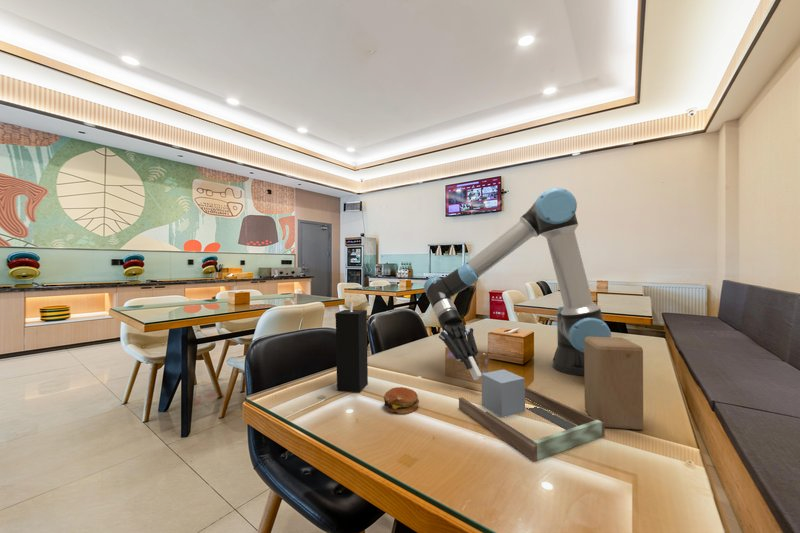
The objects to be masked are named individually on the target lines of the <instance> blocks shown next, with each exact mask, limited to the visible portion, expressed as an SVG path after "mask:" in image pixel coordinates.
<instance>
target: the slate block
mask: <svg viewBox="0 0 800 533" xmlns="http://www.w3.org/2000/svg"><path fill="white" fill-rule="evenodd" d="M481 375H482V376H481V406H483V407H484V408H485V409H487V410H489V411H490V412H492V413H494V414H495V415H497V416H498V417H499V418H501V417H503V418H506V417H510V416H513V414H514V415H516V413H517V414H521V413H524V411H525V412H526V408H525V402H526V399H525V387H526V384H525V380H526V379H525V377H523V376H520V375H518V374H516V373H513V372H511V371H508V370H506V369H498V370H493V371H488V372H483V373H481ZM520 412H521V413H520ZM509 415H510V416H509ZM505 416H506V417H505Z"/></svg>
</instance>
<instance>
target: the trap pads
mask: <svg viewBox="0 0 800 533" xmlns="http://www.w3.org/2000/svg"><path fill="white" fill-rule="evenodd" d="M526 410H528V408H527V409H526ZM530 410H531V411H530ZM528 411H530V412H532V413H534V414H535V415H537V416H539V415H540V417H541V416H542V417H541V418H543V417H544V418H543V419H545V418H546V419H545V420H547V419H548V420H547V421H549V420H550V421H549V422H550V423H553V424H554V423H555V425H556V424H557V426H559V427H560V428H563V430H568V429H571V428H574V427H577V426H578V425H577V424H575V423H573V422H571V421H569V420H567V419H565V418H563V417H561V416H559V415H558V416H557V414H554V415H552V414H553V412H551V411H549V410H547V409H545V408H543V407H540V408H537V407H534V408H529V410H528ZM485 412H486V413H487V414H489V415H490V416H492V417H493V418H495V419H496V420H498V421H500V422H501V423H503V424H504V425H506V426H507V427H509V428H510V429H512V430H514V431H515V432H517V433H518V434H520V435H521V436H523V437H524V438H526V439H528V440H529V441H531V442H532V443H533V441H534V440H532V439H531V438H530V437H528V436H526V435H525V434H523V433H521V432H520V431H518V430H517V429H515V428H514V427H513V426H510V425H509V424H507V423H505V422H504V421H503V420H502V419H499V418H498V417H497V416H494V415H493V414H492V413H490V412H488V411H485Z"/></svg>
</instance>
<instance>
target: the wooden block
mask: <svg viewBox="0 0 800 533" xmlns="http://www.w3.org/2000/svg"><path fill="white" fill-rule="evenodd" d="M583 376H584V409H585V411H586V412H587V414H589V416H591V417H593V418H595V419H597V420H599V421H602V422H604V423H605V428H612V429H613V428H615V429H626V430H628V429H629V430H631V429H632V430H639V431H640V430H643V429H644V350H643V347H642V346H641V345H639V344H636V343H635V342H632V341H630V340H629V339H626V338H623V337H616V336H615V337H612V336H611V337H586V338H585V340H584V375H583Z"/></svg>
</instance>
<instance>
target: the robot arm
mask: <svg viewBox="0 0 800 533" xmlns="http://www.w3.org/2000/svg"><path fill="white" fill-rule="evenodd" d="M577 204H578V202H577V200H576V197H575V195H574V194H573V193H572V192H571V191H569V190H567V189H565V188H560V187H554V188H549V189H547V190H545V191H543V192H542V193H541V194H540V195H539V196H538V197H537V198H536V200H535V201H534V202H533V204H532V206H531V207H530V208H528V210H527V211H526V212H525V213H524V214H522V216H520V217H519V221H518V222H517V223H516V224H514V225H513V226H512V227H511V228H509V229H508V230H506V231H505V232H504V233H503V234H501V235H500V236H499V237H497V238H496V239H495V240H494V241H492V242H491V243H490V244H488V246H486V247H485V248H484V249H482V250H481V251H480V252H478V253H477V254H475V255H474V256H473V257H472V258H470V259H469V260H468V261H467V262H466V263H464V264H463V265H461V266H459V267H458V268H457V269H454V270H453V271H452V272H451V273H449V274H447V275H446V276H444V277H442V278H441V277H438V276H433V277H430V278H428V279H427V280H425V282H424V284H423V289H424V292H425V295H426V297H427V299H428V301H429V303H430V305H431V307H432V310H433V312H434V314H435V316H436V318H437V319H438V320H437V321H438V323H439V325H440V328H441V329H442V331H441V332H440V334H439V335H438V338H439V339H440V340H441V341H442V342H443V343H444V344H445V346H446V347H447V348H448V350H449V351H450V353H451V354H452V355H453V356H454V358H455V359H456V360H457V361H459V360H460V362H461V363H463V364H464V366H465V368H466V370H468V371H469V372H470V374H471V376H472V379H473V381H478V380H479V379H480V378H482V375H481V374H482V372H481V371H480V369H479V363H478V362H477V358H476V357H477V355H478V354H479V350H478V346H477V343H476V340H475V336H474V328H472V327H470V328H467V327H466V325H465V324H464V323H463V321H462V317H461V315H460V313H459V312H458V310H457V307H456V305H455V304H454V302H453V299H452V298H453V297H454V296H456V295H457V294H459V293H460V292H462V291H464V290H466V289H467V288H469V287H470V286H473V285H474V284H475V283H476V282H478V281H479V278H480V277H481V276H482V275H484V274H486V273H487V272H488V271H489V270H490V269H492V268H493V267H494V266H496V265H497V264H498V263H499V262H501V261H503V259H505V258H507V257H508V256H509V255H510V254H512V253H513V252H514V251H515V250H517V249H519V247H521V246H522V245H524V244H525V243H526V242H527V241H529V240H531V238H533V237H534V238H537V237H538V236H542V237H543V238H545V239H546V241H547V245H548V250H549V254H550V258H551V260H552V264H553V269H554V272H555V275H556V276H555V277H556V280H557V285H558V288H559V293H560V297H561V300H562V304H563V306H558V308H557V313H556V318H557V319H556V320H557V321H556V325H557V326H556V327H557V329H556V330H557V336H556V337H557V338H556V339H557V347H556V350H555V353H554V356H553V358H552V367H553V369H555V370H556V371H559V372H561V373H565V374H568V375H569V374H570V375H575V376H584V340H585V338H586V337H612V333H611V332H612V331H611V329H610V328H609V326H608V324H607V322H605V321H604V318H603V315H602V314H603V313H602V309H601V307H600V305H597V304H596V303H594V301H593V296H592V293H591V290H590V286H589V282H588V278H587V274H586V270H585V266H584V263H583V258H582V255H581V251H580V247H579V244H578V240H577V237H576V233H575V232H576V229H577V228H578V226H579V222H578V219H577V215H576V211H577V208H578V206H577Z"/></svg>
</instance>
